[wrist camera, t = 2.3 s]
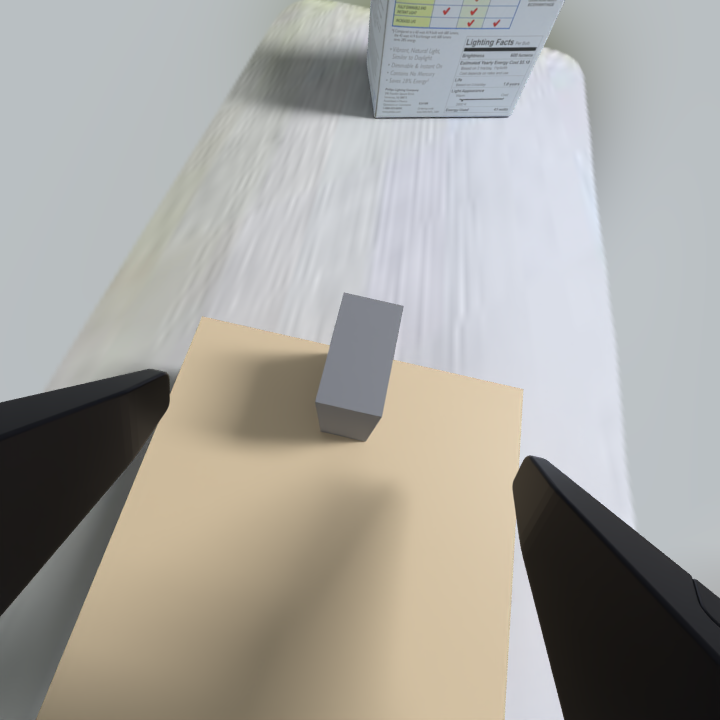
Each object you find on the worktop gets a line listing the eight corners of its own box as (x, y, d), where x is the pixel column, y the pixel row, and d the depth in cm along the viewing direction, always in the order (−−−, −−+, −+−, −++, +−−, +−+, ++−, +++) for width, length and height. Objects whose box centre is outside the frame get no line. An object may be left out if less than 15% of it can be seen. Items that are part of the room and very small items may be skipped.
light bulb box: (492, 60, 30) (575, -164, 20) (513, 120, 27) (619, -98, 17) (361, 60, 29) (378, -178, 18) (372, 122, 26) (397, -110, 16)
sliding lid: (487, 823, 10) (627, 1116, 5) (47, 719, 10) (-202, 918, 5) (515, 393, 14) (605, 344, 10) (207, 323, 14) (146, 241, 10)
